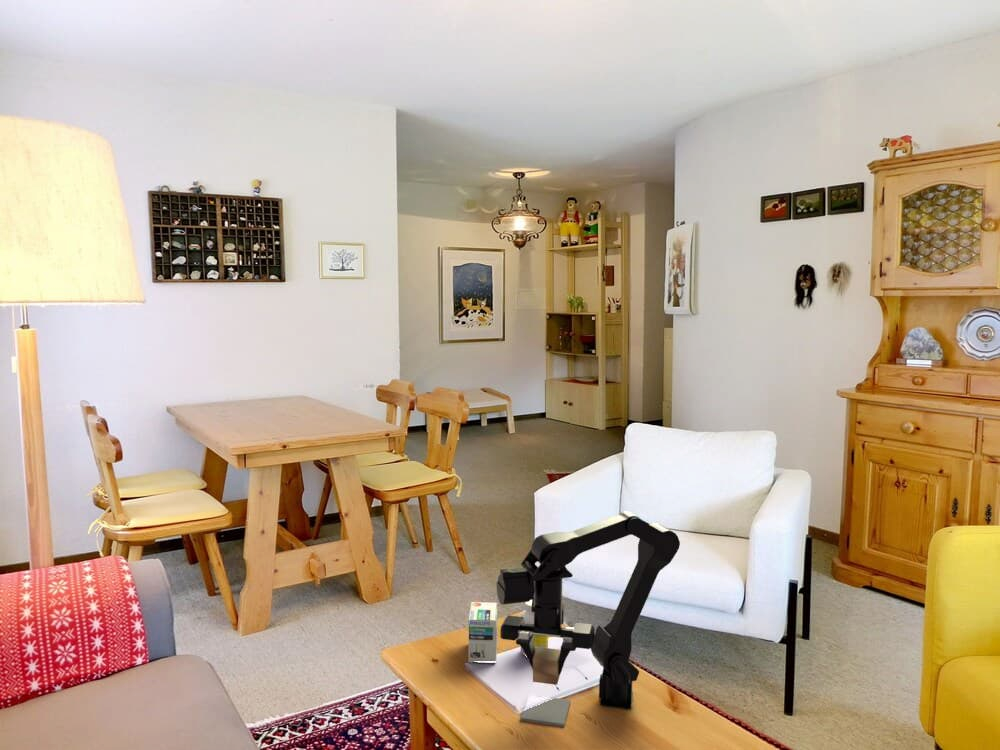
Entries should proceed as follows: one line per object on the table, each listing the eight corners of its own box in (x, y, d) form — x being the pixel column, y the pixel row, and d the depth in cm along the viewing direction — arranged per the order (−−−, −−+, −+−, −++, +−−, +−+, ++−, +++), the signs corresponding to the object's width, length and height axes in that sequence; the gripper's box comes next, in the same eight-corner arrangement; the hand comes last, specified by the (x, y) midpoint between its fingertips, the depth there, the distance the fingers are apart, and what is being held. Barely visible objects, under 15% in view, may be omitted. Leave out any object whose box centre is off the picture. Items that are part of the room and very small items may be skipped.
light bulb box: (496, 664, 168) (496, 620, 167) (467, 664, 168) (467, 619, 167) (497, 643, 178) (497, 601, 177) (470, 642, 179) (470, 601, 177)
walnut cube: (560, 672, 150) (561, 649, 149) (557, 684, 145) (557, 661, 144) (537, 669, 151) (537, 646, 150) (532, 681, 146) (533, 658, 145)
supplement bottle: (552, 651, 174) (553, 600, 173) (539, 662, 169) (540, 610, 168) (528, 644, 178) (529, 594, 177) (515, 655, 172) (515, 603, 171)
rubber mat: (570, 702, 152) (570, 700, 152) (564, 726, 143) (564, 724, 143) (528, 697, 154) (528, 694, 154) (520, 720, 145) (520, 717, 145)
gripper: (597, 587, 152) (596, 658, 153) (511, 579, 156) (511, 648, 158) (592, 609, 141) (590, 684, 143) (500, 599, 145) (499, 673, 147)
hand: (547, 671), depth 148 cm, fingers closed on walnut cube, 5 cm apart
